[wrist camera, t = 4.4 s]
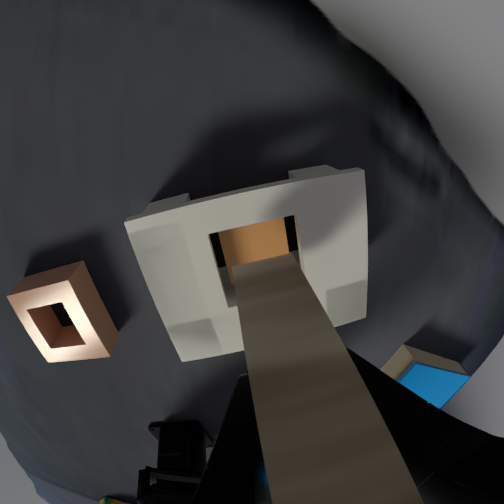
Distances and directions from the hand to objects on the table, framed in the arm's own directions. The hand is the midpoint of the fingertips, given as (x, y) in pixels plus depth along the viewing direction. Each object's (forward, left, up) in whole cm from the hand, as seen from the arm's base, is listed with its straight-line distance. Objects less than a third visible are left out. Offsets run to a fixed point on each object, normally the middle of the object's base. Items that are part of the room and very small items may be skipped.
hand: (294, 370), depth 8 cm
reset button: (0, 0, -10) cm, 10 cm away
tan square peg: (0, 0, -5) cm, 5 cm away
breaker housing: (0, 0, -13) cm, 13 cm away
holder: (-3, +16, -13) cm, 21 cm away
